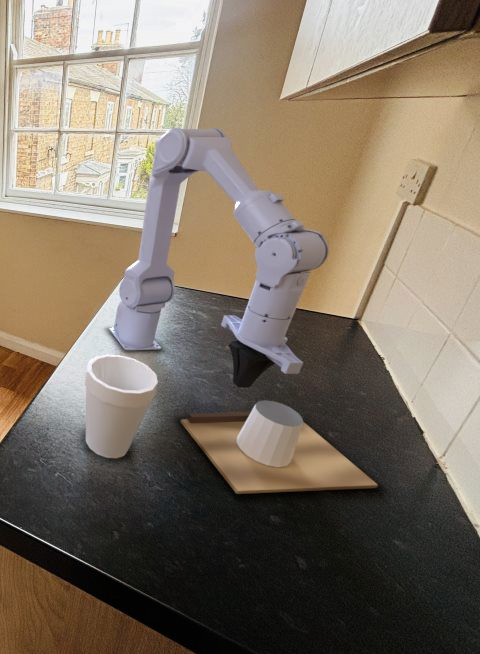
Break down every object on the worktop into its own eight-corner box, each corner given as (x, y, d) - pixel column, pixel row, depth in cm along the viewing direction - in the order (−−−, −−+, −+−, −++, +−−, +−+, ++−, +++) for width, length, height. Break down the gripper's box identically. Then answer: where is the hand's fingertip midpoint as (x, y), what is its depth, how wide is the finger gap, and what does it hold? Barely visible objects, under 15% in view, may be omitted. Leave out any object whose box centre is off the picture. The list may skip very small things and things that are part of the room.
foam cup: (151, 462, 58) (172, 390, 53) (91, 470, 57) (106, 396, 51) (119, 418, 67) (133, 352, 61) (66, 424, 65) (76, 356, 60)
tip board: (180, 422, 66) (182, 413, 66) (295, 418, 68) (299, 409, 67) (236, 494, 54) (240, 484, 53) (376, 488, 55) (382, 478, 54)
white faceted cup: (300, 404, 59) (283, 441, 62) (245, 393, 61) (232, 428, 64) (316, 435, 53) (297, 474, 56) (255, 421, 56) (240, 459, 59)
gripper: (337, 334, 54) (300, 414, 60) (260, 291, 67) (235, 360, 73) (287, 335, 54) (254, 415, 59) (219, 291, 67) (198, 360, 72)
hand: (241, 385), depth 66 cm, fingers closed
